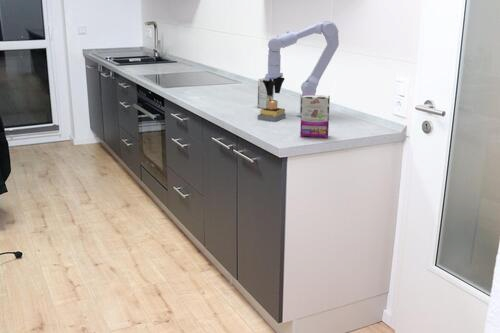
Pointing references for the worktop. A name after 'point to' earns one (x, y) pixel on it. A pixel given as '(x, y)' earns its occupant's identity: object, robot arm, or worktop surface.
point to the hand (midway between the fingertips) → (273, 94)
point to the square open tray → (271, 115)
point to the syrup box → (263, 94)
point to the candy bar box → (314, 116)
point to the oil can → (272, 105)
